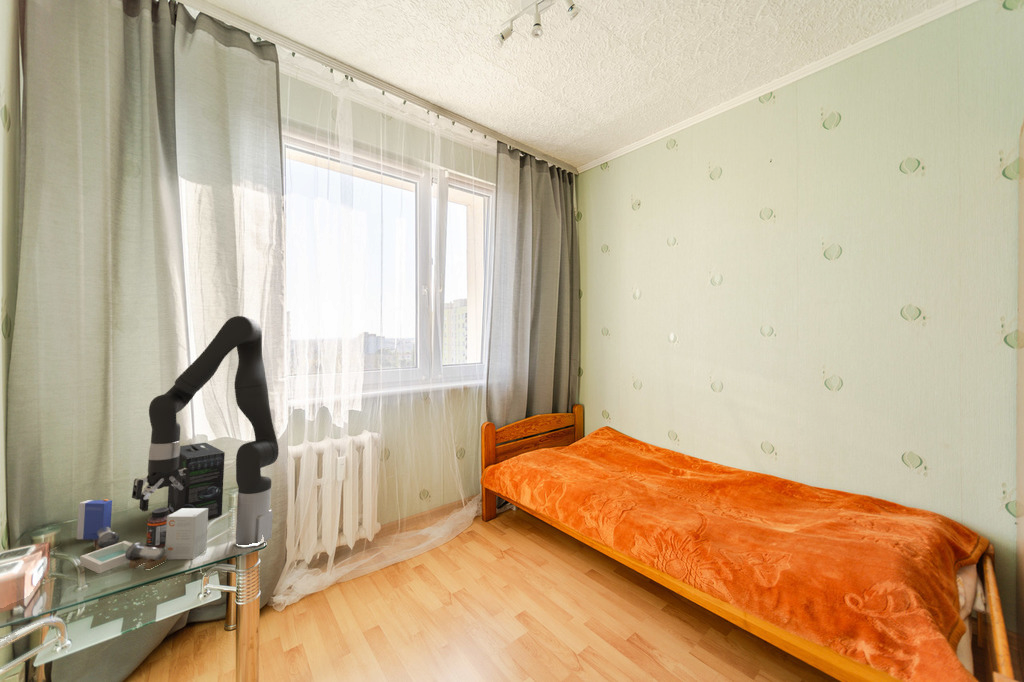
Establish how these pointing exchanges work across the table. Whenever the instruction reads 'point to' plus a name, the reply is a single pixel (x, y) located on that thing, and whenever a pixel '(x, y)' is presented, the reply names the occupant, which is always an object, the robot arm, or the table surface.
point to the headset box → (200, 479)
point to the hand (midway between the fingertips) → (161, 505)
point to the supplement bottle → (157, 528)
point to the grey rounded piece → (145, 555)
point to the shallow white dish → (106, 557)
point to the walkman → (93, 517)
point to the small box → (186, 533)
